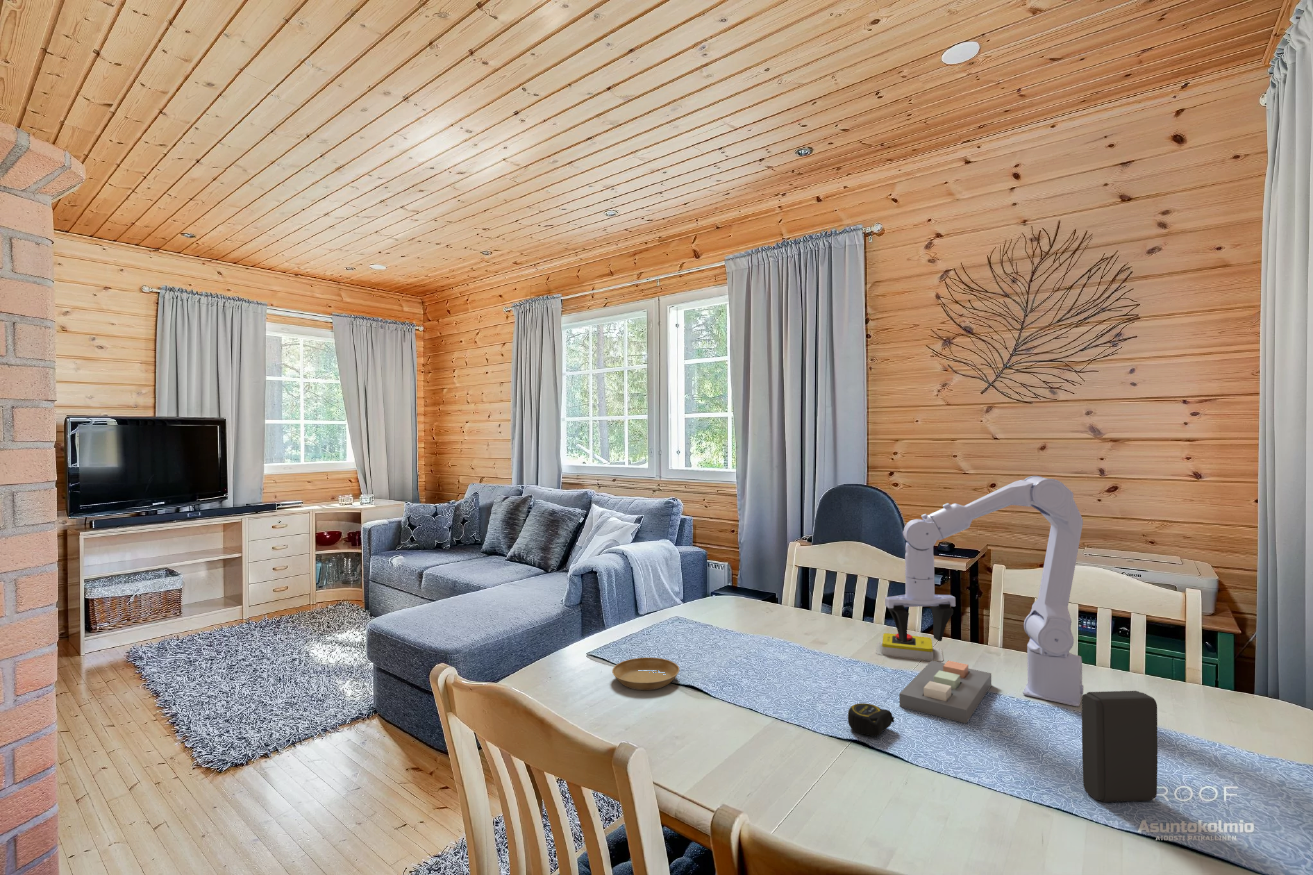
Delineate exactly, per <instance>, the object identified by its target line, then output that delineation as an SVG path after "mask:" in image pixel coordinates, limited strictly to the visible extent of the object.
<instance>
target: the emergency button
mask: <svg viewBox="0 0 1313 875" xmlns="http://www.w3.org/2000/svg"><path fill="white" fill-rule="evenodd" d="M875 654H876V655H877V656H886V657H896V658H902V659H903V658H904V659H912V660H914V659H915V660H918V661H919V660H921V661H928V662H931V661H935V662H940V663H944V657H943V656H944V655H943V650H942V649H941V648H939V647H933V640H932V638H931V637H929V636H918V635H911V634H909V633H907V642H902V641H901V640H899V635H898V633H889V632H885V633H883V634H882V640H881V641H877V642H876V646H875Z"/></svg>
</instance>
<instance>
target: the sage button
mask: <svg viewBox="0 0 1313 875" xmlns="http://www.w3.org/2000/svg"><path fill="white" fill-rule="evenodd" d="M934 682H936V683H940V684H945V685H949V686H951V688H952V689H957V688H958V687H959V686H960V675H958V674H954V673H949V672H944V671H940V670H939V671H938V672H937V673H936V675H935V676H934Z"/></svg>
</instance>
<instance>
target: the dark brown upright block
mask: <svg viewBox="0 0 1313 875" xmlns="http://www.w3.org/2000/svg"><path fill="white" fill-rule="evenodd" d="M1081 752H1082V753H1081V754H1082V760H1081V762H1082V783H1083V788H1084V791H1085V792H1086V793H1087V794H1088V795H1089V796H1091V798H1093V799H1094V800H1096V801H1100V802H1103V803H1111V802H1112V803H1113V802H1114V803H1116V802H1144V801H1149V802H1150V801H1152V800H1153V799H1155V798H1157V795H1158V764H1159V763H1158V704H1157V702H1156V699H1155V698H1154V697H1152V696H1151V695H1148V694H1146V693H1144V692H1139V691H1137V690H1119V691H1118V690H1115V691H1113V690H1112V691H1108V690H1107V691H1088V692H1086V693H1083V695H1082V698H1081Z"/></svg>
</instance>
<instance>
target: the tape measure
mask: <svg viewBox="0 0 1313 875" xmlns="http://www.w3.org/2000/svg"><path fill="white" fill-rule="evenodd" d="M847 722H848V724H847V725H849V727H850V728H851V730H853V731H854V732H856V733H858V734H861V735H866V736H871V737H879V736H880V735H881V734H882V733H883V732H884V731H885V730H886V729H889V727H890V726H891V725H892V723H895V716H893V713H892V712H891V711H890V710H888V709H882V708H881V707H879V706H877V705H875V704H872V703H865V702H863V703H861V702H860V703H856V704H852V705H851V706H850V707H849V709H848V710H847Z"/></svg>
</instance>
